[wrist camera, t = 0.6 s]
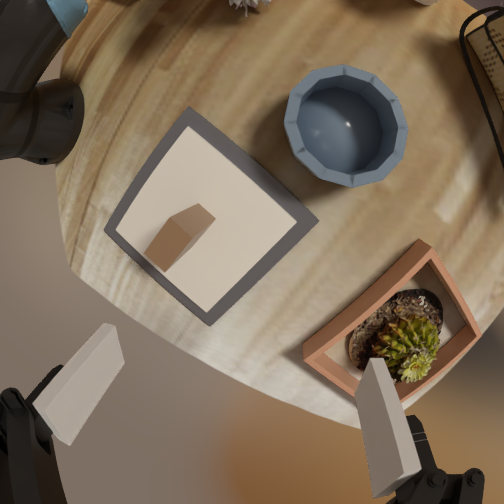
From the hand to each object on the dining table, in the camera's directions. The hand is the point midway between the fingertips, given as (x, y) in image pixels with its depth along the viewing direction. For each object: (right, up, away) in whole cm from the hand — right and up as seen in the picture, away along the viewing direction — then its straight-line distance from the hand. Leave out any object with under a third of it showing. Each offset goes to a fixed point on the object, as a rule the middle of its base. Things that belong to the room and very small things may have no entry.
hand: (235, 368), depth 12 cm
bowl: (+11, +21, +17) cm, 29 cm away
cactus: (+24, -7, +25) cm, 35 cm away
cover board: (-6, +9, +22) cm, 25 cm away
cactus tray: (+24, -8, +25) cm, 35 cm away
